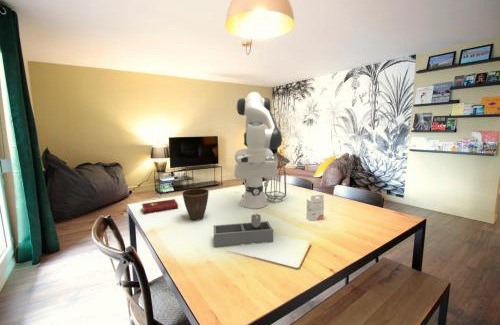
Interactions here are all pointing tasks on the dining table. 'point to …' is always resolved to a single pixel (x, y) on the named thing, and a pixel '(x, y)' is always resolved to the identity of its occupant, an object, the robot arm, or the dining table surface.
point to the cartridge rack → (241, 234)
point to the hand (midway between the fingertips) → (256, 186)
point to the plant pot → (196, 202)
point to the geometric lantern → (279, 178)
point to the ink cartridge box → (315, 207)
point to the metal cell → (256, 222)
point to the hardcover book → (159, 206)
